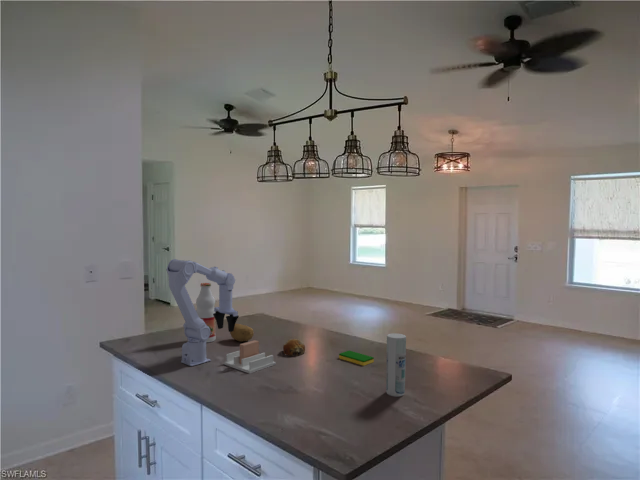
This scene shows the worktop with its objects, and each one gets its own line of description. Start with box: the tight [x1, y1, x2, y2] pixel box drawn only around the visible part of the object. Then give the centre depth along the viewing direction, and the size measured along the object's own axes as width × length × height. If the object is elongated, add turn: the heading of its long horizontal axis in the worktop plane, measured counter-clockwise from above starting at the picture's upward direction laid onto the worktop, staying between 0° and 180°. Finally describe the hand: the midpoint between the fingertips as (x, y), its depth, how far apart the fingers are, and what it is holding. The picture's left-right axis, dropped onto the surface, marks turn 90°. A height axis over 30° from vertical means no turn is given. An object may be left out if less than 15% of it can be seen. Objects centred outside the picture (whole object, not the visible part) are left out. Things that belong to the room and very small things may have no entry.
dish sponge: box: [338, 350, 375, 367], centre depth 186 cm, size 7×14×2 cm, turn 46°
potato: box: [229, 323, 255, 342], centre depth 213 cm, size 10×14×8 cm
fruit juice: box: [195, 282, 217, 344], centre depth 213 cm, size 9×9×28 cm
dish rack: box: [223, 350, 277, 374], centre depth 179 cm, size 14×16×4 cm
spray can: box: [385, 332, 407, 398], centre depth 151 cm, size 6×6×20 cm
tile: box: [239, 339, 260, 364], centre depth 179 cm, size 8×2×8 cm, turn 140°
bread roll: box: [282, 338, 306, 357], centre depth 196 cm, size 10×10×8 cm
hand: (225, 329), depth 195 cm, fingers open, 7 cm apart
